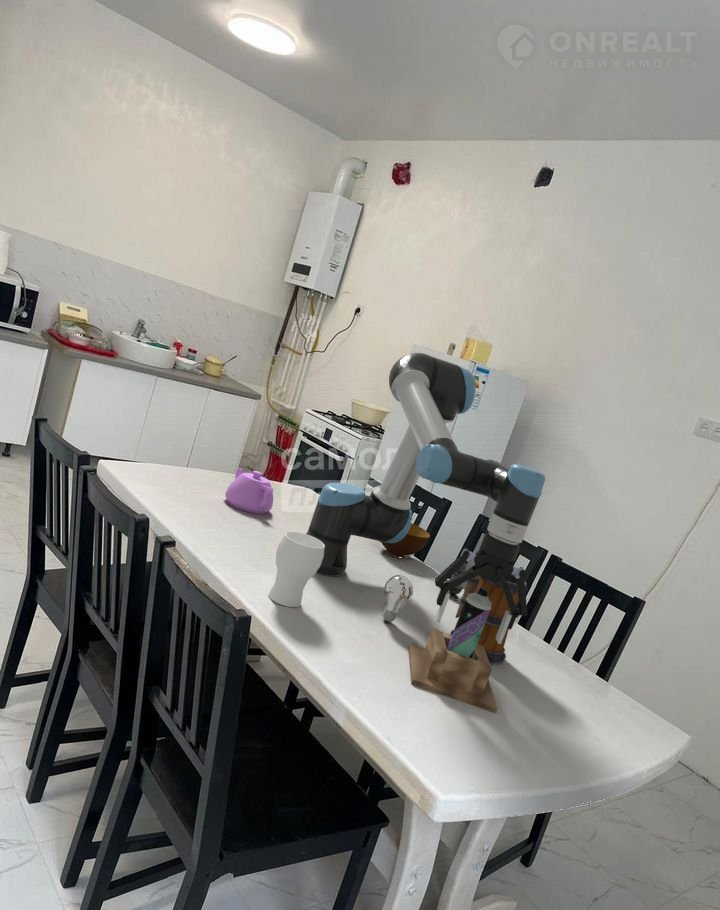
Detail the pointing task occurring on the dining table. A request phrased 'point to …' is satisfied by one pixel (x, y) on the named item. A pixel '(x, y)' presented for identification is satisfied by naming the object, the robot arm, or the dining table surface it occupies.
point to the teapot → (250, 492)
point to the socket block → (452, 671)
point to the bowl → (408, 542)
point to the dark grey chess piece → (459, 587)
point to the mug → (492, 613)
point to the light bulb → (396, 596)
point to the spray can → (470, 623)
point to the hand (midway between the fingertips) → (467, 630)
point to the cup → (295, 566)
